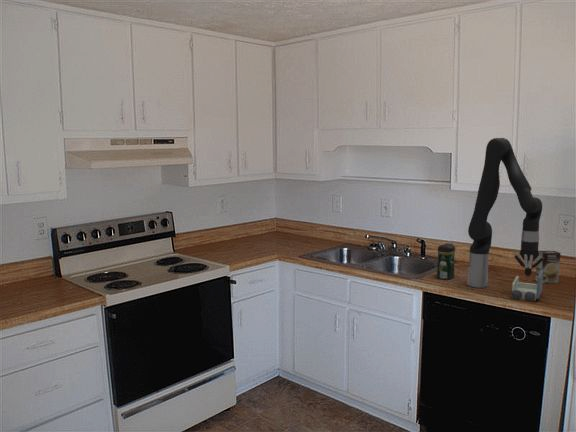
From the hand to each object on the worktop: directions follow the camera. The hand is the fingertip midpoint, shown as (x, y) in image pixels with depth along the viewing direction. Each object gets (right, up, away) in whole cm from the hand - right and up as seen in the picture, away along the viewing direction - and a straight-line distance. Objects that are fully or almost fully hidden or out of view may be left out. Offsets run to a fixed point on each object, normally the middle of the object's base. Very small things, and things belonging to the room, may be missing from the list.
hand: (527, 275), depth 247 cm
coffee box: (+21, -6, +25) cm, 33 cm away
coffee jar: (-29, -5, +34) cm, 45 cm away
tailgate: (+5, -9, -1) cm, 10 cm away
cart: (-1, -10, +2) cm, 10 cm away
